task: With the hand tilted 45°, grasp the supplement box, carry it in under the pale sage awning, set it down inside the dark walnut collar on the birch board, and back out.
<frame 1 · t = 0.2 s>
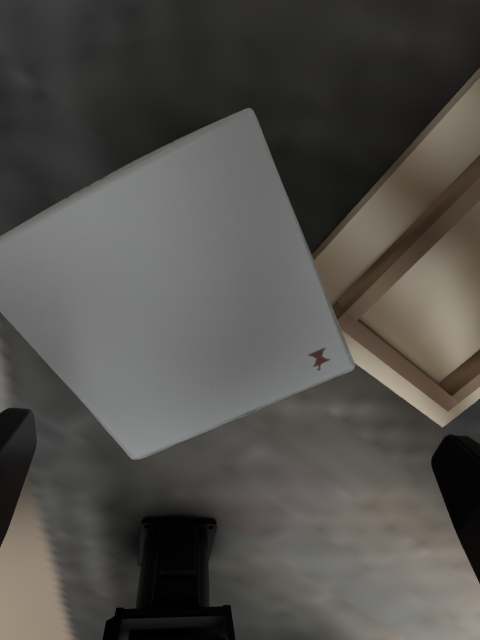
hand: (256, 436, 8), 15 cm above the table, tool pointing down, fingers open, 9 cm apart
awning stand: (449, 289, 24), on the table
supplement box: (192, 216, 20), on the table
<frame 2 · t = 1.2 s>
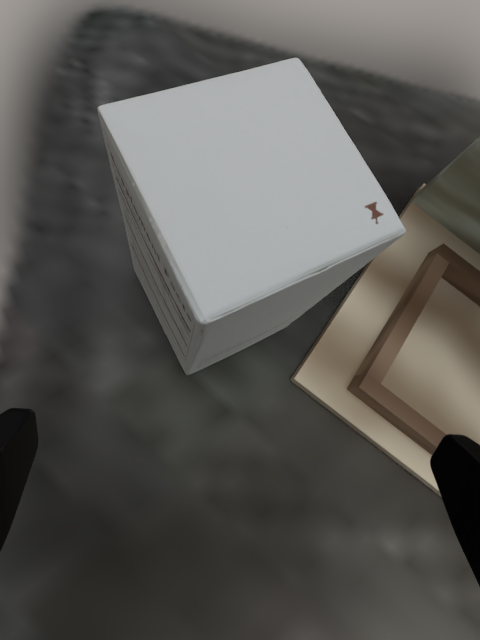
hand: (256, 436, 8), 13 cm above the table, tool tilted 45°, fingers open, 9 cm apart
awning stand: (453, 372, 25), on the table
supplement box: (211, 301, 23), on the table
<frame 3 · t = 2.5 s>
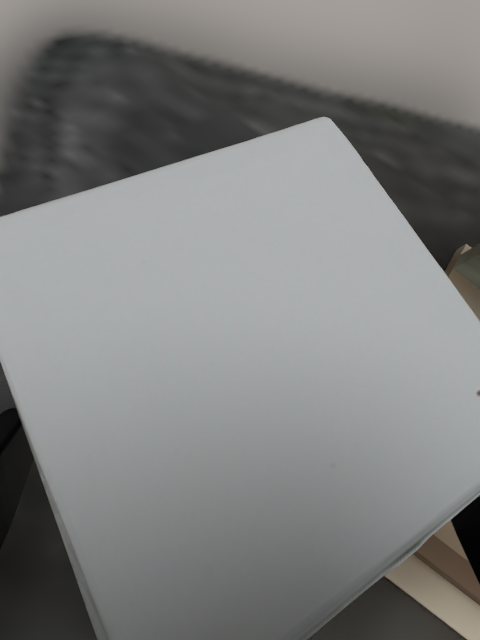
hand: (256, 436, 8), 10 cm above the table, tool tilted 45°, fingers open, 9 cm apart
supplement box: (206, 411, 17), on the table, touching gripper
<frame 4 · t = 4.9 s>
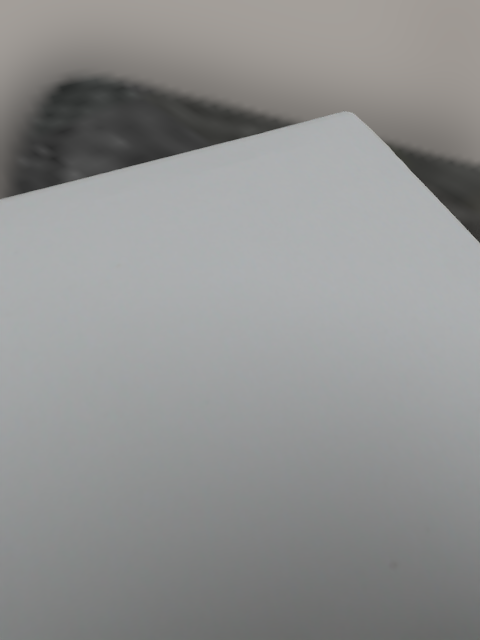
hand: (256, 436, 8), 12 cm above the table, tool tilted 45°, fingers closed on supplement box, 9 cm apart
supplement box: (215, 466, 15), point 3 cm above the table, touching gripper
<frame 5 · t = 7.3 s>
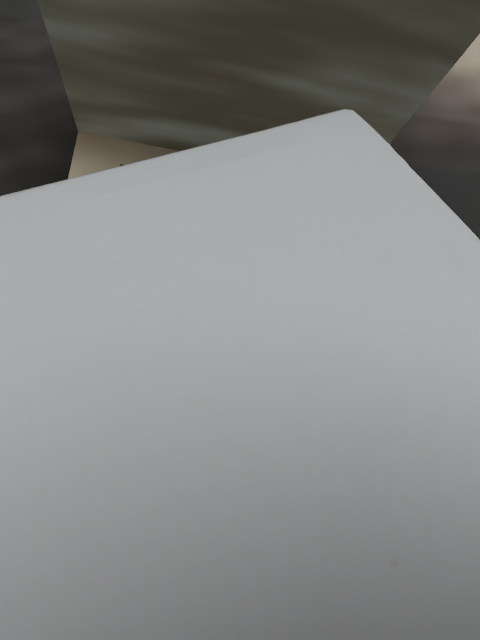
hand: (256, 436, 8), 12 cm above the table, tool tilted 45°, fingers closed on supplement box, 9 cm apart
awning stand: (214, 293, 22), on the table
supplement box: (215, 466, 15), point 4 cm above the table, touching gripper
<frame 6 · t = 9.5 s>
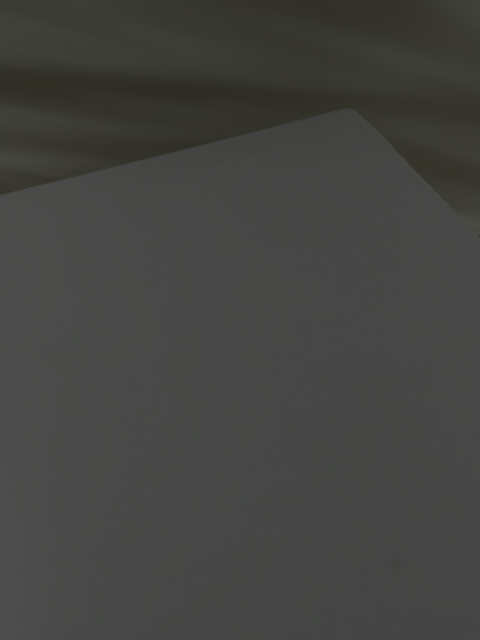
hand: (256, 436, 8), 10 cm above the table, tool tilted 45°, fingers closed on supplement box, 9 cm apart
awning stand: (205, 451, 17), on the table
supplement box: (215, 466, 15), point 2 cm above the table, touching awning stand, gripper
when the fingers open (10 cm above the table, at t = 11.5 s): supplement box stays where it is, resting on awning stand.
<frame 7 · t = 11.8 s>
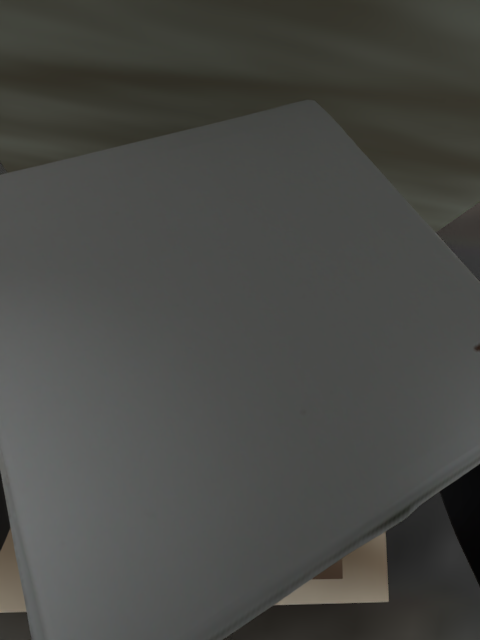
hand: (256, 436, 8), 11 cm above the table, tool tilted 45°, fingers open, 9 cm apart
awning stand: (206, 422, 18), on the table
supplement box: (215, 432, 17), point 1 cm above the table, touching awning stand
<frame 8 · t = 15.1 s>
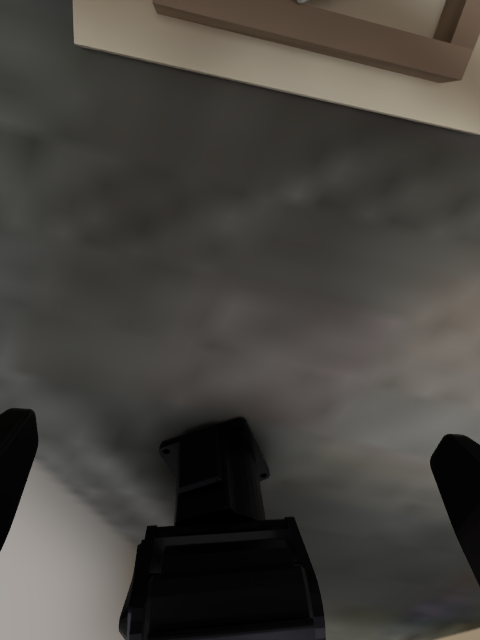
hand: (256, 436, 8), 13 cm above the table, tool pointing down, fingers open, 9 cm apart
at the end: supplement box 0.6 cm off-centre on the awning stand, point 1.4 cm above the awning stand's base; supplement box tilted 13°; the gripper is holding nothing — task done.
